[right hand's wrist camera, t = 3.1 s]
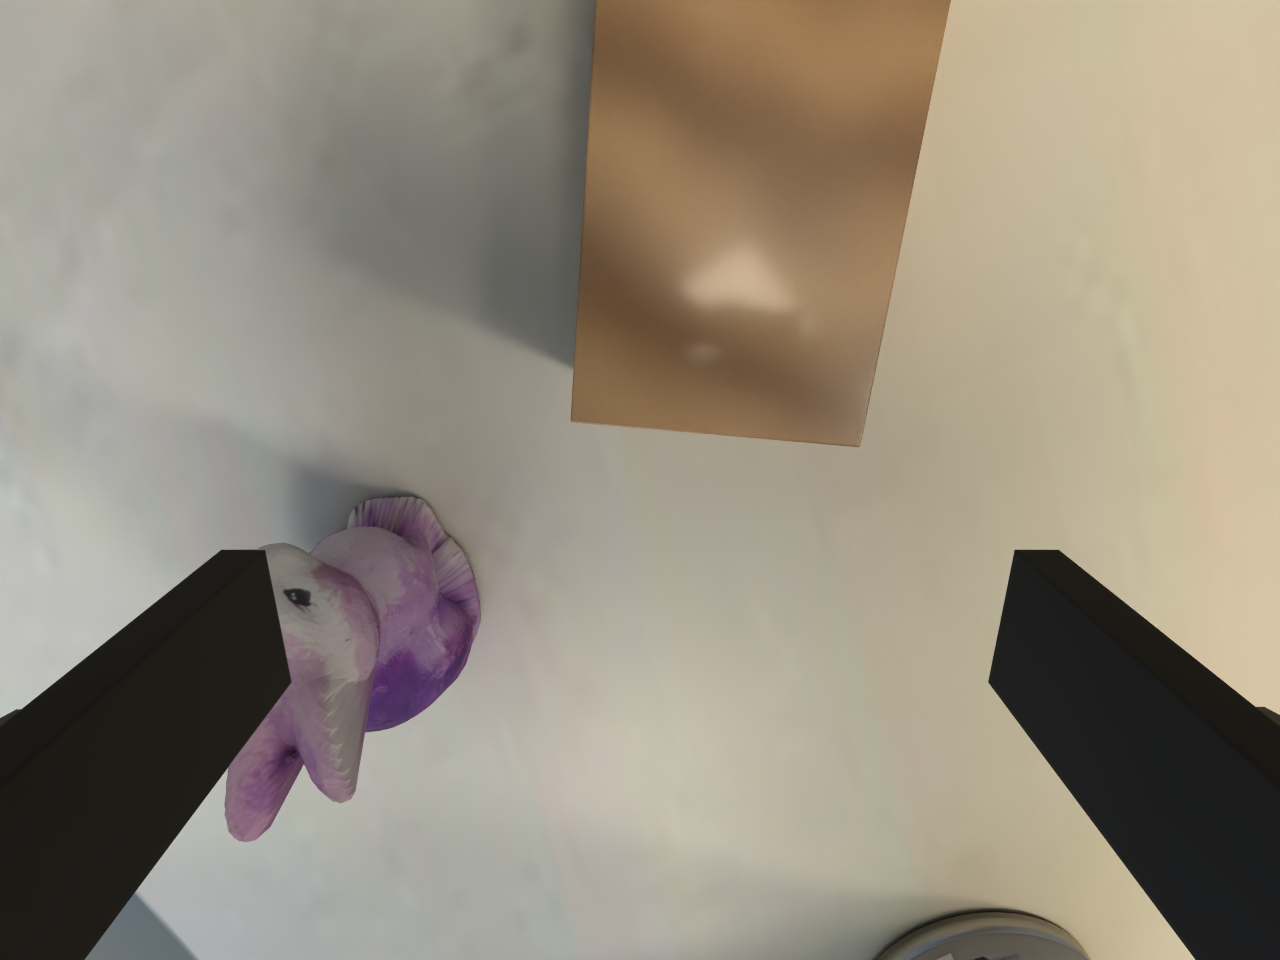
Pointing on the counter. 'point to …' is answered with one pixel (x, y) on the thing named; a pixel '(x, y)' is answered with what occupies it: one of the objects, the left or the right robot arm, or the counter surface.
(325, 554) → the figurine
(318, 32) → the counter surface
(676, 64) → the cabinet
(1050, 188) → the counter surface
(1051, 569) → the right robot arm
